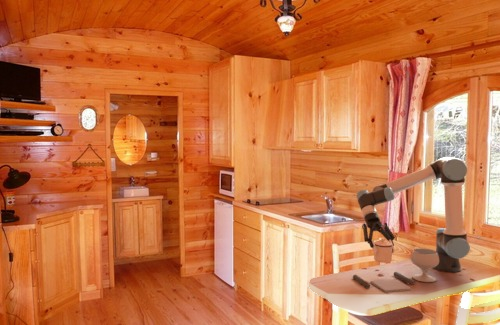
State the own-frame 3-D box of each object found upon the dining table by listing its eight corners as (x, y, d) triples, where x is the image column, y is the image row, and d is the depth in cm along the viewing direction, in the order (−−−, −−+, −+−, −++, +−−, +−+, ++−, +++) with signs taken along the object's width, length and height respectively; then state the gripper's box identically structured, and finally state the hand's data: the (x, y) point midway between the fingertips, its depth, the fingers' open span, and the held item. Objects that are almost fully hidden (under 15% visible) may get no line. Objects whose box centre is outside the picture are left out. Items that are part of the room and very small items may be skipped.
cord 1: (352, 279, 220) (352, 274, 220) (356, 278, 221) (357, 274, 221) (366, 289, 206) (366, 284, 205) (371, 288, 206) (371, 284, 206)
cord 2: (393, 276, 226) (393, 271, 225) (397, 275, 226) (397, 271, 226) (410, 285, 211) (410, 281, 211) (414, 285, 211) (414, 280, 211)
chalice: (406, 279, 220) (406, 251, 219) (415, 273, 231) (416, 246, 230) (433, 285, 211) (434, 256, 210) (442, 278, 221) (443, 251, 220)
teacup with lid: (395, 262, 211) (396, 239, 210) (381, 263, 208) (381, 241, 207) (380, 255, 222) (381, 234, 222) (366, 257, 219) (367, 235, 218)
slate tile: (394, 280, 217) (394, 278, 217) (410, 290, 204) (410, 288, 204) (370, 282, 214) (370, 280, 214) (385, 292, 201) (385, 290, 201)
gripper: (386, 218, 231) (401, 254, 217) (349, 220, 227) (362, 257, 212) (391, 211, 226) (407, 247, 211) (354, 212, 221) (367, 249, 207)
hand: (384, 252), depth 212 cm, fingers closed on teacup with lid, 9 cm apart
